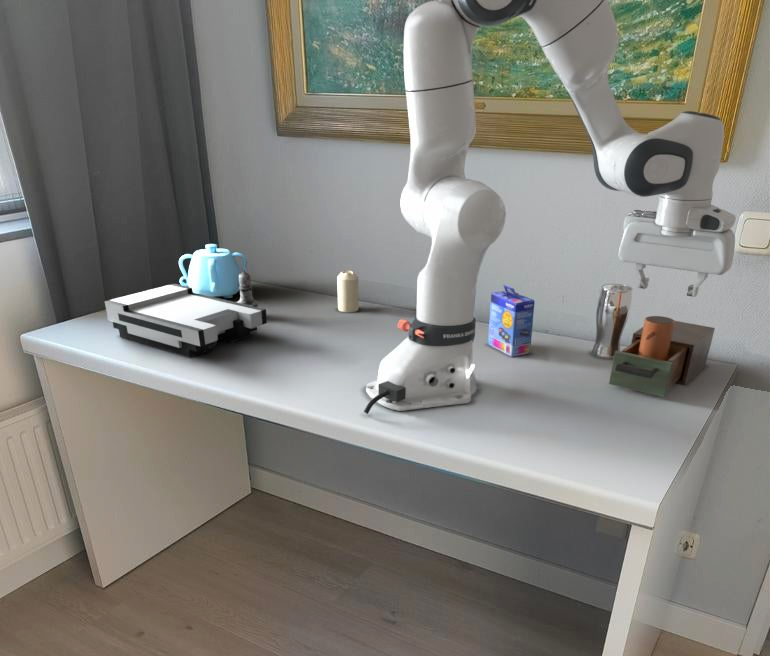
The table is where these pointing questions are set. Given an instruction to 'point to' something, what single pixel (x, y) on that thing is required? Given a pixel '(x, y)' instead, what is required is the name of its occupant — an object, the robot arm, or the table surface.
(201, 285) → the decorative pot
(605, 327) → the beer glass
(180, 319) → the game console
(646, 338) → the orange mug
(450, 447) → the table surface
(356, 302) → the candle
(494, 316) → the ink cartridge box
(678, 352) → the drawer
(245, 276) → the salt shaker
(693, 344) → the cabinet
